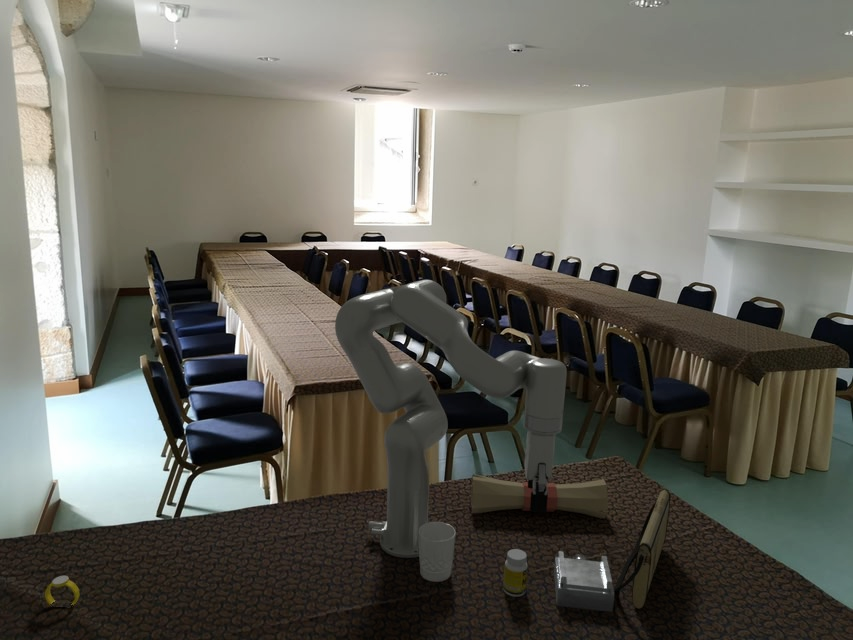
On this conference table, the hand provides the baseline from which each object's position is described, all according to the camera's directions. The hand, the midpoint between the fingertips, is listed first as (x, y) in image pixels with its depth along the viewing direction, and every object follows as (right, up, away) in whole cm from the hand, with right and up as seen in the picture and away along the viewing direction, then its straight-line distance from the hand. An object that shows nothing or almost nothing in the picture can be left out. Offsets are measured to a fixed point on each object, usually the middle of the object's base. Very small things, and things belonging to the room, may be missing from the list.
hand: (536, 499), depth 133 cm
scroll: (+6, -13, +35) cm, 38 cm away
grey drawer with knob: (+10, -20, +4) cm, 23 cm away
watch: (-93, -19, -6) cm, 95 cm away
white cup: (-21, -18, +8) cm, 29 cm away
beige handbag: (+24, -19, +10) cm, 33 cm away
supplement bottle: (-4, -20, +3) cm, 21 cm away
